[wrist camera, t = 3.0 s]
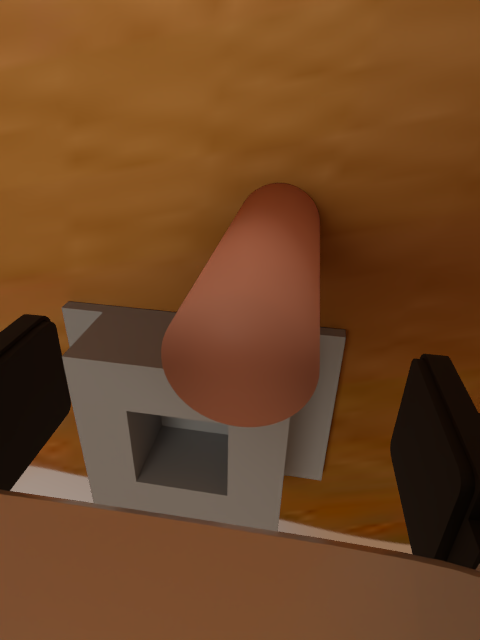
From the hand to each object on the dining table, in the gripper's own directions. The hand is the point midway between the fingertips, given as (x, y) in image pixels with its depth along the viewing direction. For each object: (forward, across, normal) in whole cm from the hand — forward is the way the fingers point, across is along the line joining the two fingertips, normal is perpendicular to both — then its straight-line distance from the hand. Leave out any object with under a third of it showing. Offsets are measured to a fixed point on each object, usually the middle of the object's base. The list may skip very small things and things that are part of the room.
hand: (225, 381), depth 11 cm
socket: (+12, +4, +10) cm, 16 cm away
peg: (+12, 0, -1) cm, 12 cm away
